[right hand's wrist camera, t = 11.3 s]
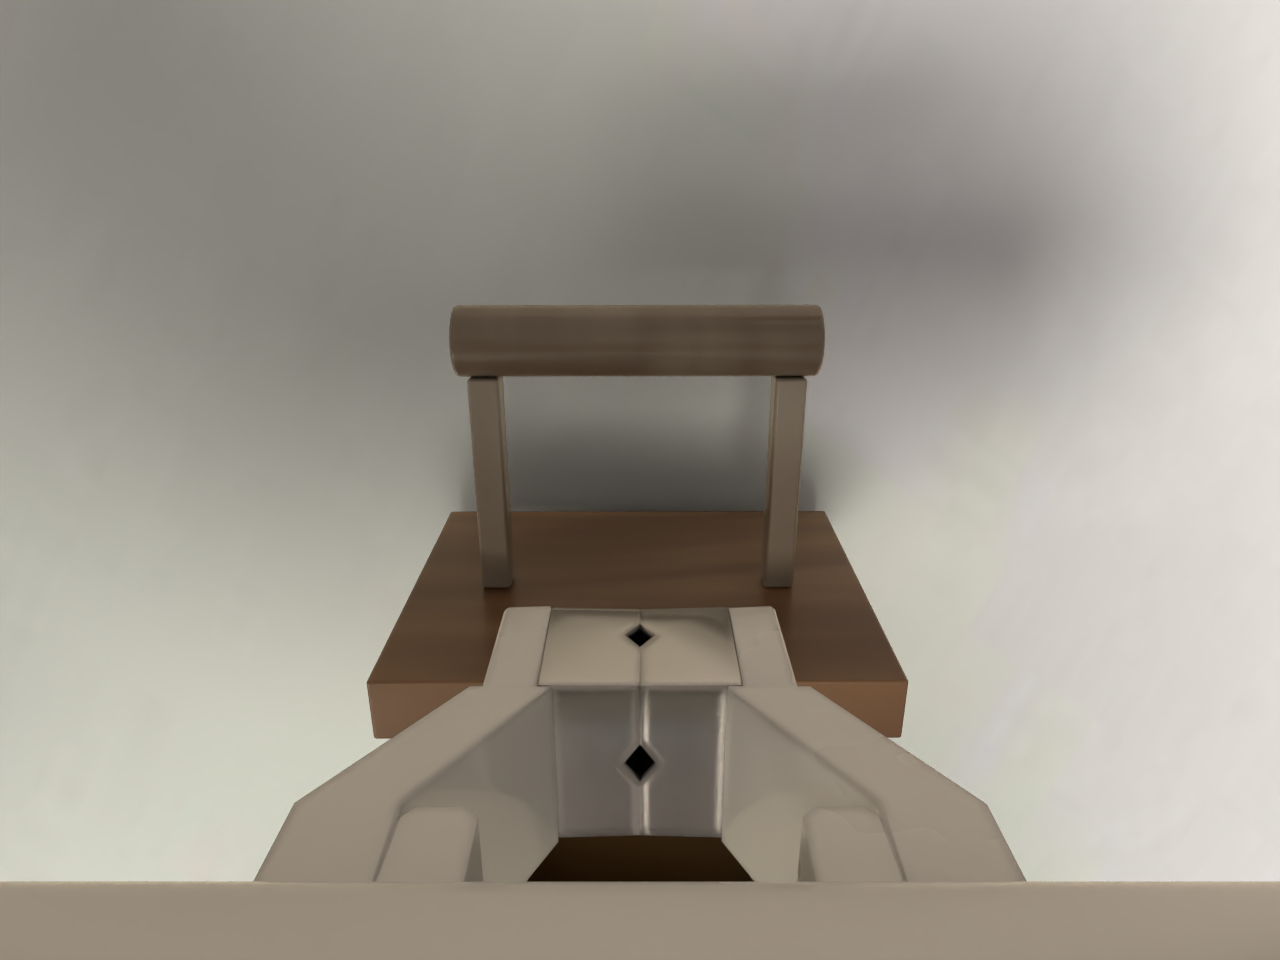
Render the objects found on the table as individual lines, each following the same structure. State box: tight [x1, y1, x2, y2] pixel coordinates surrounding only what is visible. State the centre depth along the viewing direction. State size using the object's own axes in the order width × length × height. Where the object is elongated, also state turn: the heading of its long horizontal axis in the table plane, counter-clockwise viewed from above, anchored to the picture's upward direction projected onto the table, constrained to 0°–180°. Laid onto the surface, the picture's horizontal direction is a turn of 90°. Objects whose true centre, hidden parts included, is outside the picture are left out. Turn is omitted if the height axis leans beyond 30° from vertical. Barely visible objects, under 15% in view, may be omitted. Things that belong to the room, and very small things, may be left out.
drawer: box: [367, 305, 908, 882], centre depth 21 cm, size 26×9×7 cm, turn 0°
